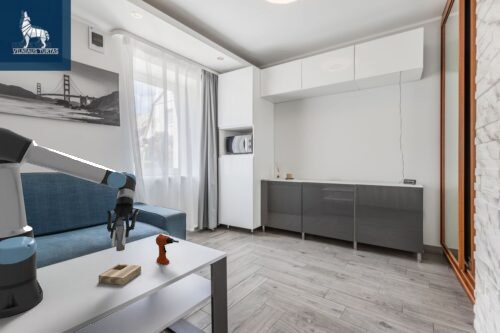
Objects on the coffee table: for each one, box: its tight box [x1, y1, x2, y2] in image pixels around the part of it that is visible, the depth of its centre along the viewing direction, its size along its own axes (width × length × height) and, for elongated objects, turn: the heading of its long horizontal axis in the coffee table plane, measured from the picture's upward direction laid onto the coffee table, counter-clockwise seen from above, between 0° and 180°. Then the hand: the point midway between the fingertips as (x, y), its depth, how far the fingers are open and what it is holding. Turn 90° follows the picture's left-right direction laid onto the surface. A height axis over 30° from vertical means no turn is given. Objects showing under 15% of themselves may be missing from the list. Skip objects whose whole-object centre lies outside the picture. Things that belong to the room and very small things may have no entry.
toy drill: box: [155, 233, 180, 266], centre depth 120 cm, size 5×19×15 cm, turn 53°
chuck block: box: [98, 263, 142, 286], centre depth 107 cm, size 12×12×3 cm
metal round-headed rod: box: [115, 219, 126, 252], centre depth 106 cm, size 3×3×14 cm
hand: (118, 244), depth 102 cm, fingers closed on metal round-headed rod, 3 cm apart
